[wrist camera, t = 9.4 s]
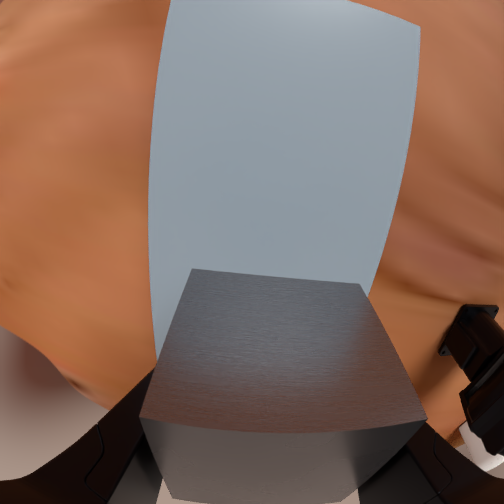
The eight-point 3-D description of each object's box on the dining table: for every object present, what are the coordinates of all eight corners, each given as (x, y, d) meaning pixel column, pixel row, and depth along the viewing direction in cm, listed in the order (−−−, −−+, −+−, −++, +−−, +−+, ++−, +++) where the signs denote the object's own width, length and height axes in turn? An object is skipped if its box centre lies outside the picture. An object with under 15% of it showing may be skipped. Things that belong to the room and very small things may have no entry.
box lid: (413, 30, 10) (420, 27, 9) (331, 371, 19) (333, 379, 18) (179, -11, 10) (175, -17, 9) (159, 353, 19) (157, 361, 18)
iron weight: (359, 283, 8) (427, 418, 4) (320, 389, 11) (341, 501, 6) (191, 268, 8) (139, 416, 4) (194, 381, 10) (172, 498, 6)
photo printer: (498, 390, 31) (526, 441, 20) (503, 394, 32) (529, 441, 21) (454, 428, 35) (476, 479, 24) (462, 429, 36) (483, 477, 25)
